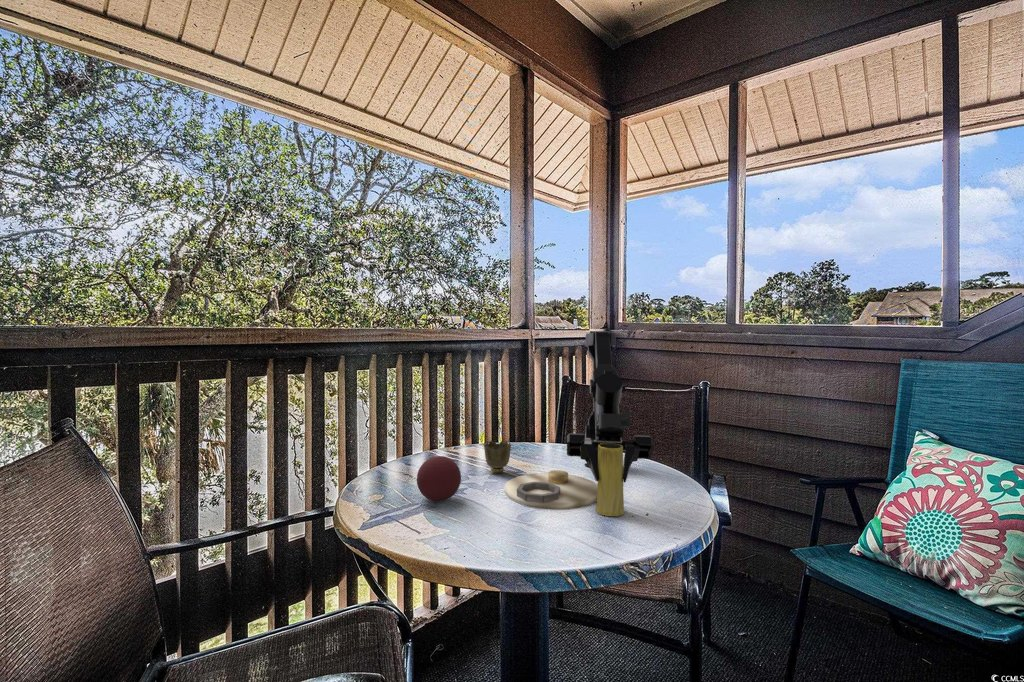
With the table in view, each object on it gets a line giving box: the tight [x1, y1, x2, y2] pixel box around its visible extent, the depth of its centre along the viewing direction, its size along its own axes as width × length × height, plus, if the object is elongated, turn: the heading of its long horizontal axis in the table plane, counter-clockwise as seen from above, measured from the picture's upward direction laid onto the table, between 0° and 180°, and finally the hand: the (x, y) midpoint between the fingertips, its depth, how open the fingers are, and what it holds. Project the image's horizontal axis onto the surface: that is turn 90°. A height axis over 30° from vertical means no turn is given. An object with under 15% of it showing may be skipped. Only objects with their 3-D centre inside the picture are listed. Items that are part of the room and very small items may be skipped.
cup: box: [483, 440, 512, 475], centre depth 130 cm, size 8×7×8 cm
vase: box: [595, 443, 625, 517], centre depth 102 cm, size 6×6×14 cm
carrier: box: [504, 469, 598, 510], centre depth 115 cm, size 23×23×3 cm
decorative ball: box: [416, 455, 462, 502], centre depth 108 cm, size 10×10×10 cm
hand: (611, 480), depth 100 cm, fingers closed on vase, 5 cm apart
